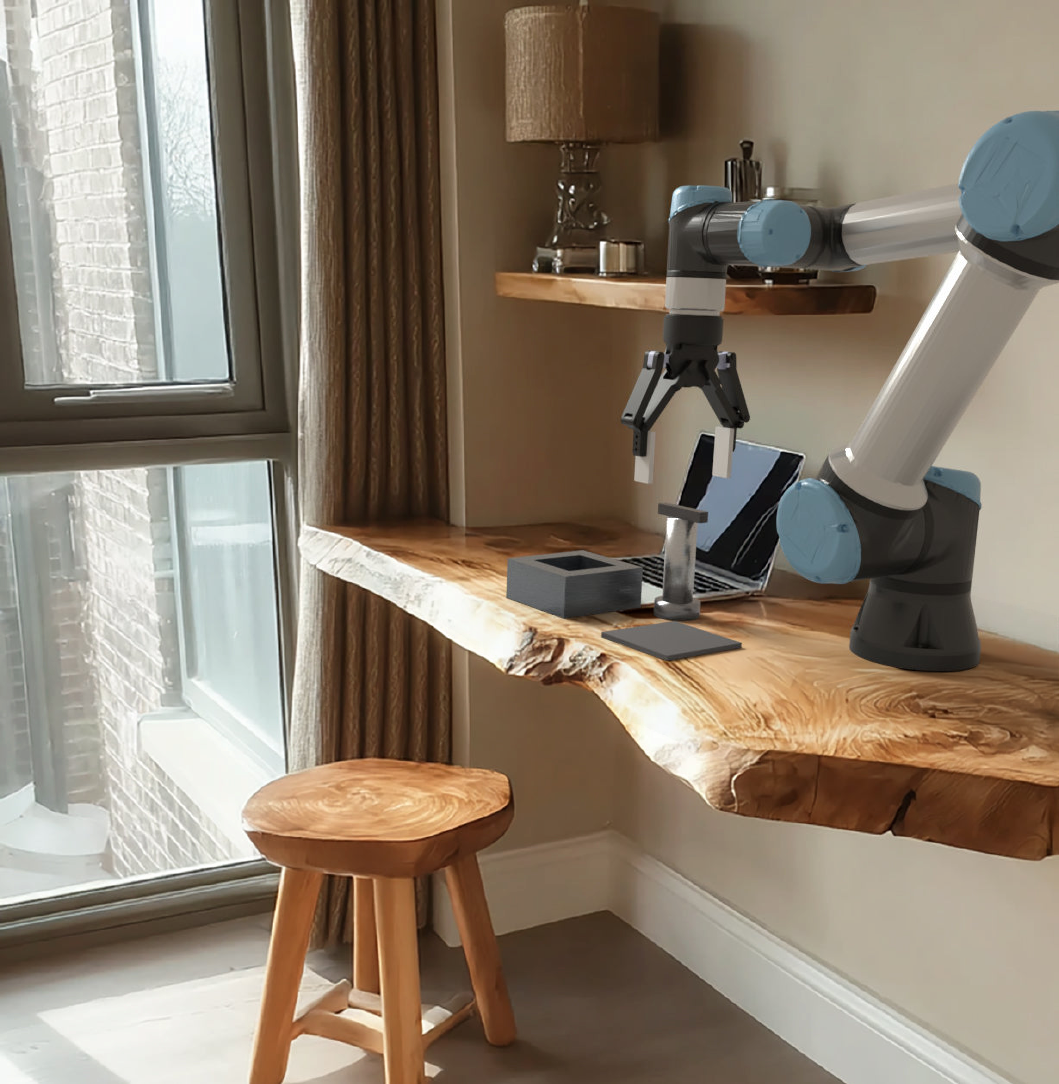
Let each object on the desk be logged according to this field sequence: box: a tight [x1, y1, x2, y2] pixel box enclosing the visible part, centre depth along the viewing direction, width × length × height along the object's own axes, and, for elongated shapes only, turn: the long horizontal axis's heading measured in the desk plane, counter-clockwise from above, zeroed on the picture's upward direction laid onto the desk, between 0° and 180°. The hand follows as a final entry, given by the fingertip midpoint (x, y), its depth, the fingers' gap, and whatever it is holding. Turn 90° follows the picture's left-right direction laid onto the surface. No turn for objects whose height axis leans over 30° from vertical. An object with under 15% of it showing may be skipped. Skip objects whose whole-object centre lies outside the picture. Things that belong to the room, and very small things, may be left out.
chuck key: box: [653, 502, 709, 622], centre depth 169 cm, size 8×6×14 cm
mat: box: [600, 620, 743, 662], centre depth 157 cm, size 12×12×1 cm
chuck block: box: [505, 549, 644, 619], centre depth 175 cm, size 13×13×6 cm
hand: (683, 479), depth 168 cm, fingers open, 13 cm apart
